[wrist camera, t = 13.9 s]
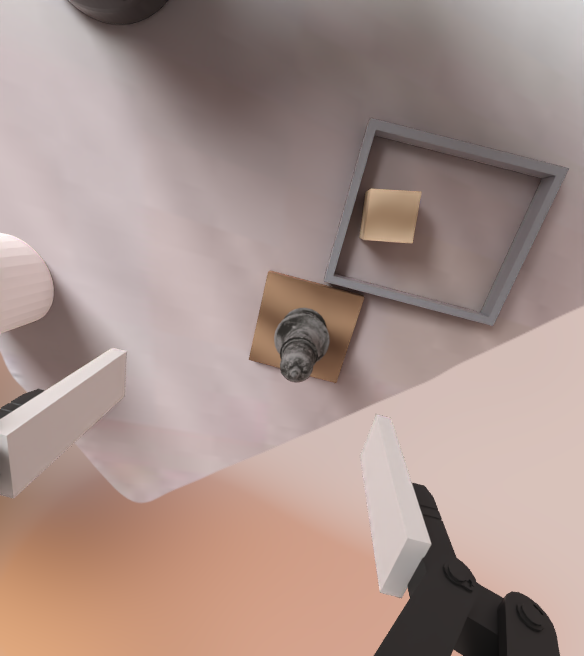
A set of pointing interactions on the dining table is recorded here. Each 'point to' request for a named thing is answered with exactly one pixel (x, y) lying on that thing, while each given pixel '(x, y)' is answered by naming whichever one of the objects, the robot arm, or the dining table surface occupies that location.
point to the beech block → (389, 215)
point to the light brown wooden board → (300, 293)
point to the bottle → (22, 284)
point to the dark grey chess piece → (301, 343)
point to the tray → (546, 171)
